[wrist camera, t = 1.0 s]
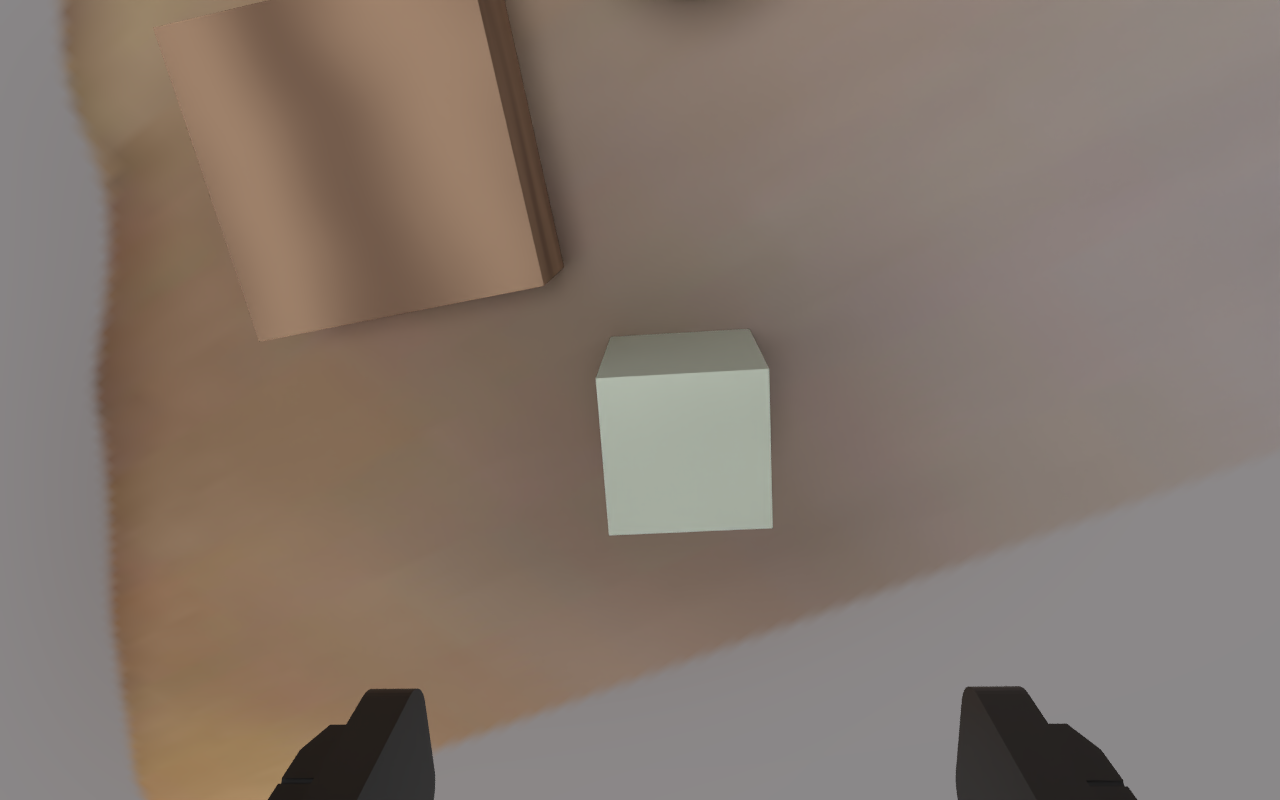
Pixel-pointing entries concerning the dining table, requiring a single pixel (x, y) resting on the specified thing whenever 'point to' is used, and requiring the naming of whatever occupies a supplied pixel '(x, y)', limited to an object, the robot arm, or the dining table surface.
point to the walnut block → (364, 155)
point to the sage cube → (685, 432)
